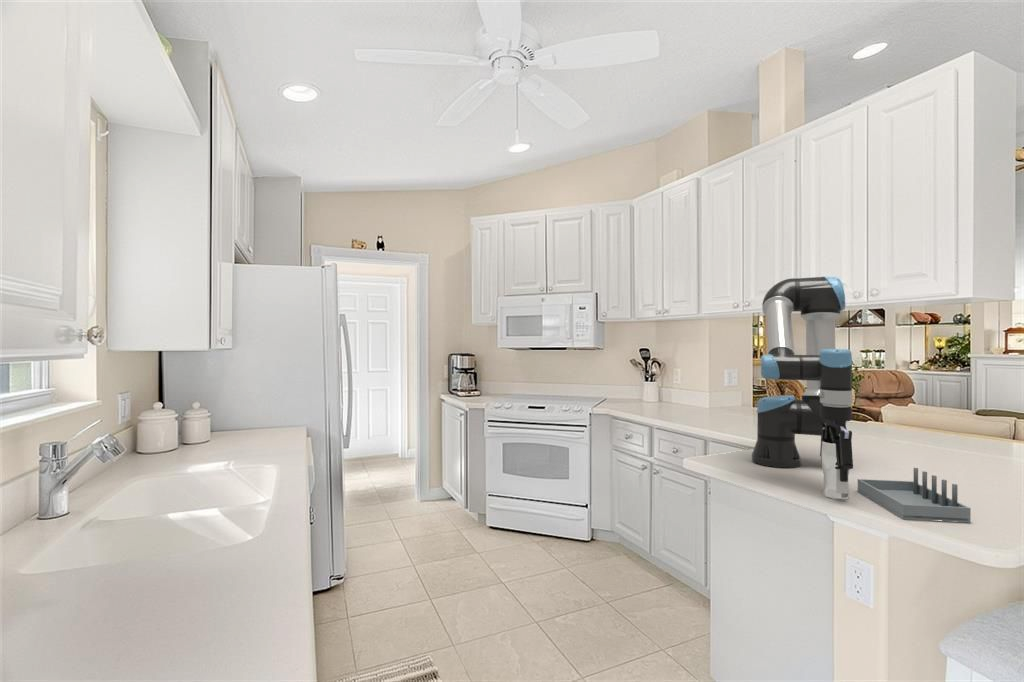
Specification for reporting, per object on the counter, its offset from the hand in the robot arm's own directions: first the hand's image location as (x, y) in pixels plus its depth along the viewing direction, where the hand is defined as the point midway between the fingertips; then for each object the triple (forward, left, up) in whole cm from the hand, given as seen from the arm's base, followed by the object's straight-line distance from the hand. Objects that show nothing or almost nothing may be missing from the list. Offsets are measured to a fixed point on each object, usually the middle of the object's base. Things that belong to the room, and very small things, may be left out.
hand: (835, 488), depth 142 cm
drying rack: (+5, +15, -2) cm, 16 cm away
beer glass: (0, 0, -2) cm, 2 cm away
